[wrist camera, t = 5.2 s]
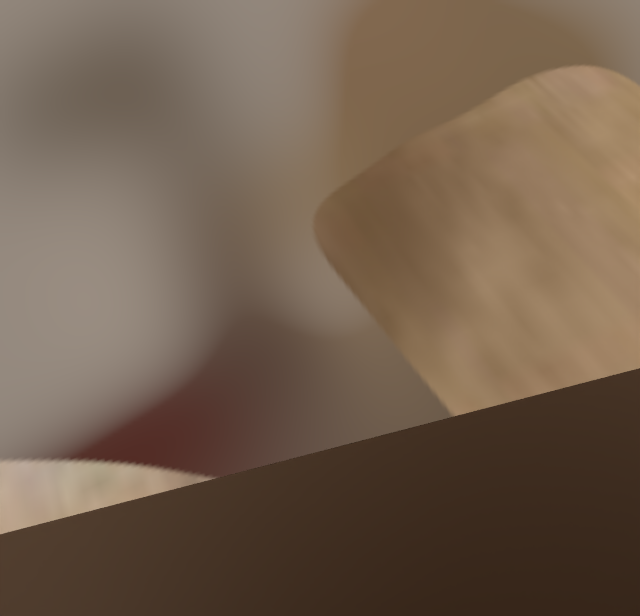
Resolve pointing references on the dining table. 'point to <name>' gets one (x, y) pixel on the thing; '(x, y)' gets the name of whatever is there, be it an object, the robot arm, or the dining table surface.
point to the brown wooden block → (373, 526)
